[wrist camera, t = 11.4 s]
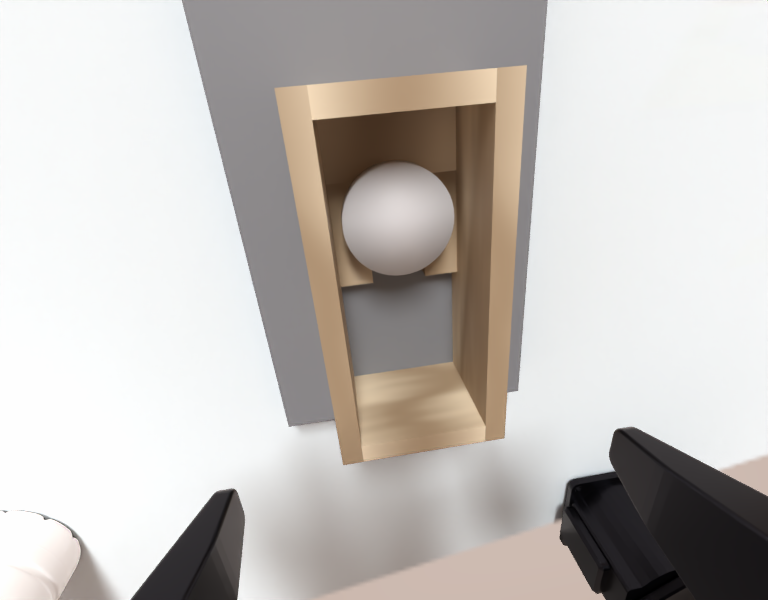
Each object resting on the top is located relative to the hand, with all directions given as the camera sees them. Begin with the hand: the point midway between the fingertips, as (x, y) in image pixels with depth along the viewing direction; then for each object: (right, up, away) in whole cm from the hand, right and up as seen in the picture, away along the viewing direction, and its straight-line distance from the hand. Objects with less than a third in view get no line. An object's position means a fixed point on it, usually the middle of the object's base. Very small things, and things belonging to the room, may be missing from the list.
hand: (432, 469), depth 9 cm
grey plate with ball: (-1, +8, +8) cm, 12 cm away
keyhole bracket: (-1, +6, +8) cm, 10 cm away
